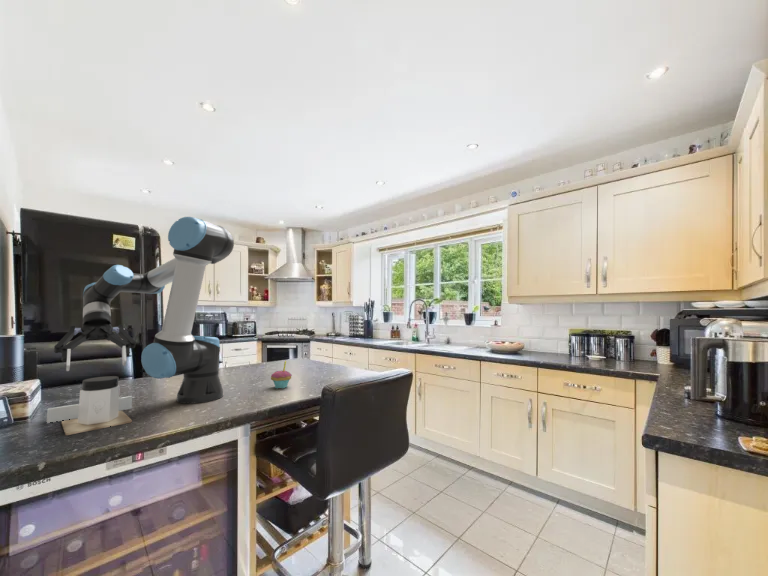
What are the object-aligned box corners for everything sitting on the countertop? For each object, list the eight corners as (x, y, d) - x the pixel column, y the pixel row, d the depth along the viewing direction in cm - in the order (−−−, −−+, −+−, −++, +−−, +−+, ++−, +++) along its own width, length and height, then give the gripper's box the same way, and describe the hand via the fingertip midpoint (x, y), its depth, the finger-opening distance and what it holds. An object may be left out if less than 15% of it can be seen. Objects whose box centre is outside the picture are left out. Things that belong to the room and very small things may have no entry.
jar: (76, 427, 91) (79, 383, 92) (78, 420, 97) (81, 378, 98) (118, 420, 97) (120, 378, 98) (117, 414, 103) (120, 374, 104)
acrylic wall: (130, 407, 112) (131, 395, 112) (131, 408, 111) (132, 396, 111) (46, 422, 97) (47, 408, 97) (46, 423, 96) (47, 409, 96)
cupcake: (294, 385, 146) (294, 357, 147) (286, 390, 137) (287, 360, 138) (275, 385, 147) (276, 357, 147) (266, 389, 138) (267, 360, 139)
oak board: (122, 412, 106) (122, 410, 106) (131, 422, 97) (131, 420, 97) (61, 423, 96) (61, 421, 96) (65, 435, 87) (66, 433, 87)
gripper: (139, 324, 127) (143, 368, 115) (46, 326, 110) (40, 378, 98) (142, 310, 124) (147, 354, 112) (47, 310, 107) (41, 362, 95)
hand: (97, 365), depth 105 cm, fingers open, 13 cm apart
